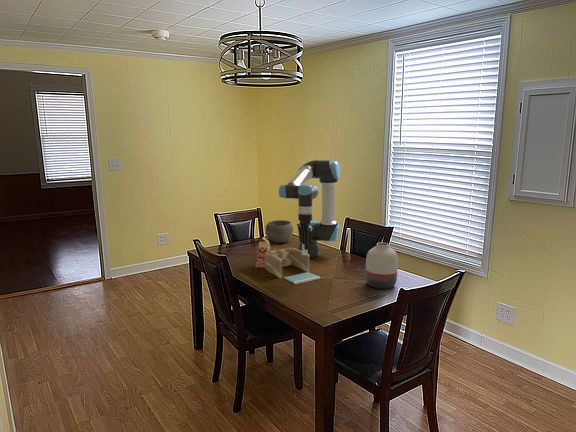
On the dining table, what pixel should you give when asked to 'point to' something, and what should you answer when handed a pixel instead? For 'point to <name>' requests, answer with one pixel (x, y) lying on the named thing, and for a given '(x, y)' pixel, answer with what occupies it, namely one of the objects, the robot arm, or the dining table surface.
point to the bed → (285, 260)
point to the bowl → (279, 231)
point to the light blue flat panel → (301, 278)
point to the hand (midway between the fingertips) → (304, 254)
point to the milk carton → (262, 252)
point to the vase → (381, 266)
